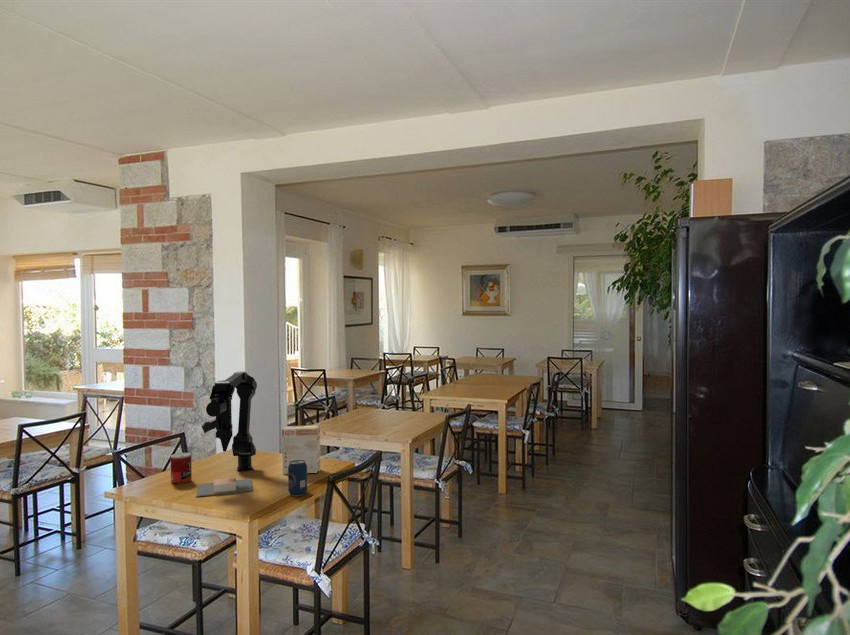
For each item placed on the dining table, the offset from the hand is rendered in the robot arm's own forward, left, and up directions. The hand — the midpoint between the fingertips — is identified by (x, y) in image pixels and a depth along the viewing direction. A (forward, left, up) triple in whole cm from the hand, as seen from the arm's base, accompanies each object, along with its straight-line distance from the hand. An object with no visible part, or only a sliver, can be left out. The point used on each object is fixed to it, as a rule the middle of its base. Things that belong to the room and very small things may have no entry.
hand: (224, 451), depth 226 cm
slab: (+6, 0, -11) cm, 13 cm away
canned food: (-10, -17, -13) cm, 24 cm away
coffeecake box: (-5, +31, -13) cm, 34 cm away
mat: (+7, 0, -13) cm, 15 cm away
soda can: (+25, +26, -13) cm, 38 cm away
